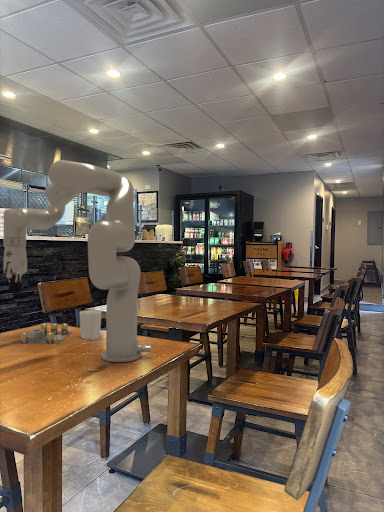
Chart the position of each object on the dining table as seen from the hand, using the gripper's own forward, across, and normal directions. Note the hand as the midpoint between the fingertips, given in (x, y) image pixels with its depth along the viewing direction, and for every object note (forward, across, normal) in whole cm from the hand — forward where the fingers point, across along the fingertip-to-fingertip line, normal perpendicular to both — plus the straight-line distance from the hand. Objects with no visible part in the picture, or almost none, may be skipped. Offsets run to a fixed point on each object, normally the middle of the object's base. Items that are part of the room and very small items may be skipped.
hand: (14, 292), depth 136 cm
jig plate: (+17, 0, -12) cm, 21 cm away
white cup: (+17, +1, -28) cm, 33 cm away
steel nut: (+17, 0, -8) cm, 18 cm away
